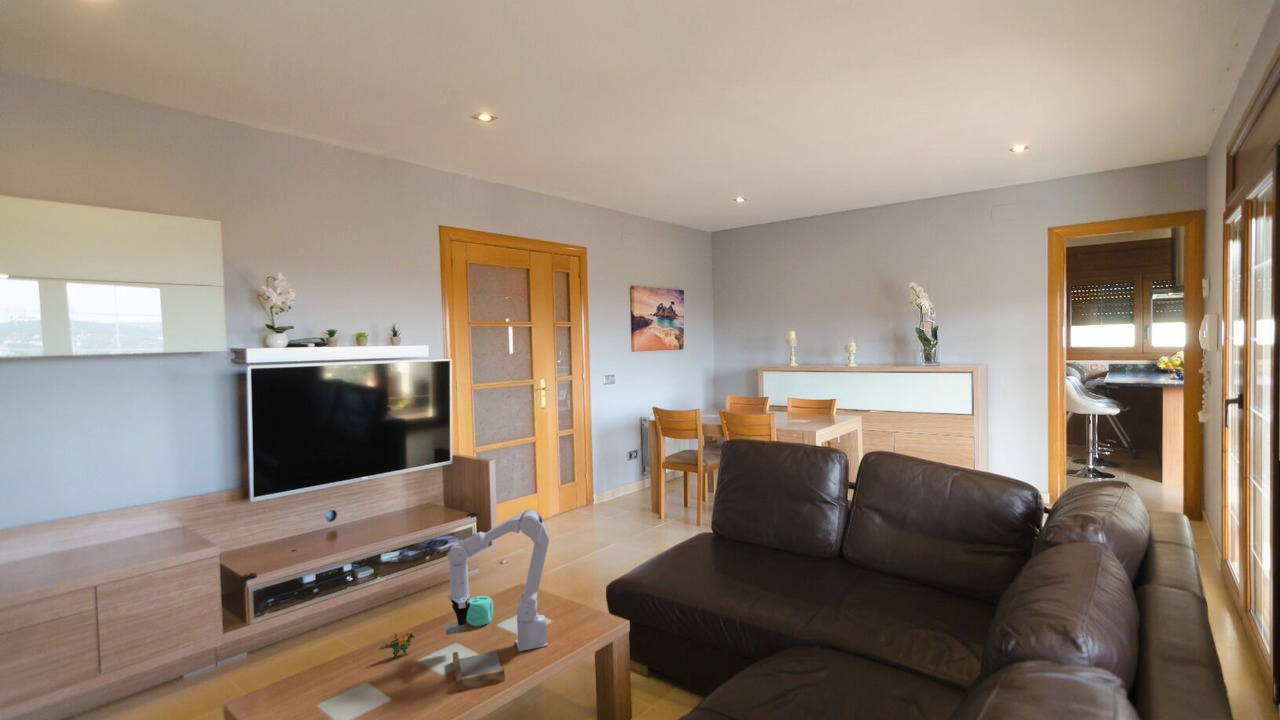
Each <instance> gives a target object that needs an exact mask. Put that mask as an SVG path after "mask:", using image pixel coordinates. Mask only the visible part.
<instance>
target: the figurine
mask: <svg viewBox="0 0 1280 720" xmlns="http://www.w3.org/2000/svg"><path fill="white" fill-rule="evenodd" d="M393 634H394V638H395V639H394V640H392V641H390V642H389V643H388V642H386V643H385V644H384V645H381V647H379V648H378V650H384V649H390V648H391V649H392V650H393V652H392V655H393V658H395V659H400V656H399V655H398V654H399V653H400V652H401V651H402V653H404V654H405V655H406V656H407V655H409V653H408V652H407V649H408V648H409V646H413V645H414V644H413V643H412V639H416V636H415V635H414V634H413V632H408V631H407V632H406V633H405V635H404V634H403V635H402V636H401V637H400V638H399V636H398V635H397V634H398V633H397V632H394V633H393ZM405 636H406V637H407V639H405Z"/></svg>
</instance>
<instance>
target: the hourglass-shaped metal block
mask: <svg viewBox="0 0 1280 720" xmlns="http://www.w3.org/2000/svg"><path fill="white" fill-rule="evenodd" d="M444 627H445V629H444V630H445V635H446V636H448V635H449V636H450V635H453V634H458V633H463V632H466V624H465V625H461V626H459V625H458V621H454V622H449V623H445V624H444Z"/></svg>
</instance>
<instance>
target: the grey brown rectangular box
mask: <svg viewBox="0 0 1280 720" xmlns="http://www.w3.org/2000/svg"><path fill="white" fill-rule="evenodd" d="M459 662H460V667H461V673H462V677H464V676H469V675H473V674H478V673H483V672H488V671H492V670H497V669H502V668H503V667H502V665H501V662H500V659H499V656H498V653H497V651H491V652H487V653H481V654H477V655H476V654H475V655H472V656H466V657H462V658H459Z"/></svg>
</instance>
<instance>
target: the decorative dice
mask: <svg viewBox="0 0 1280 720" xmlns="http://www.w3.org/2000/svg"><path fill="white" fill-rule="evenodd" d="M467 603H470V607H469V609H468V612H467V618H466V623H467V624H469V625H470V626H472V627H482V625H483V626H485V624H486V625H488V624H489V623H491V622H492V620H493V616H494V601H493V599H492V598H491V597H490V596H487V595H479V596H478V595H477V596H474V597H471V598H469V599H468V600H467Z"/></svg>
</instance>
